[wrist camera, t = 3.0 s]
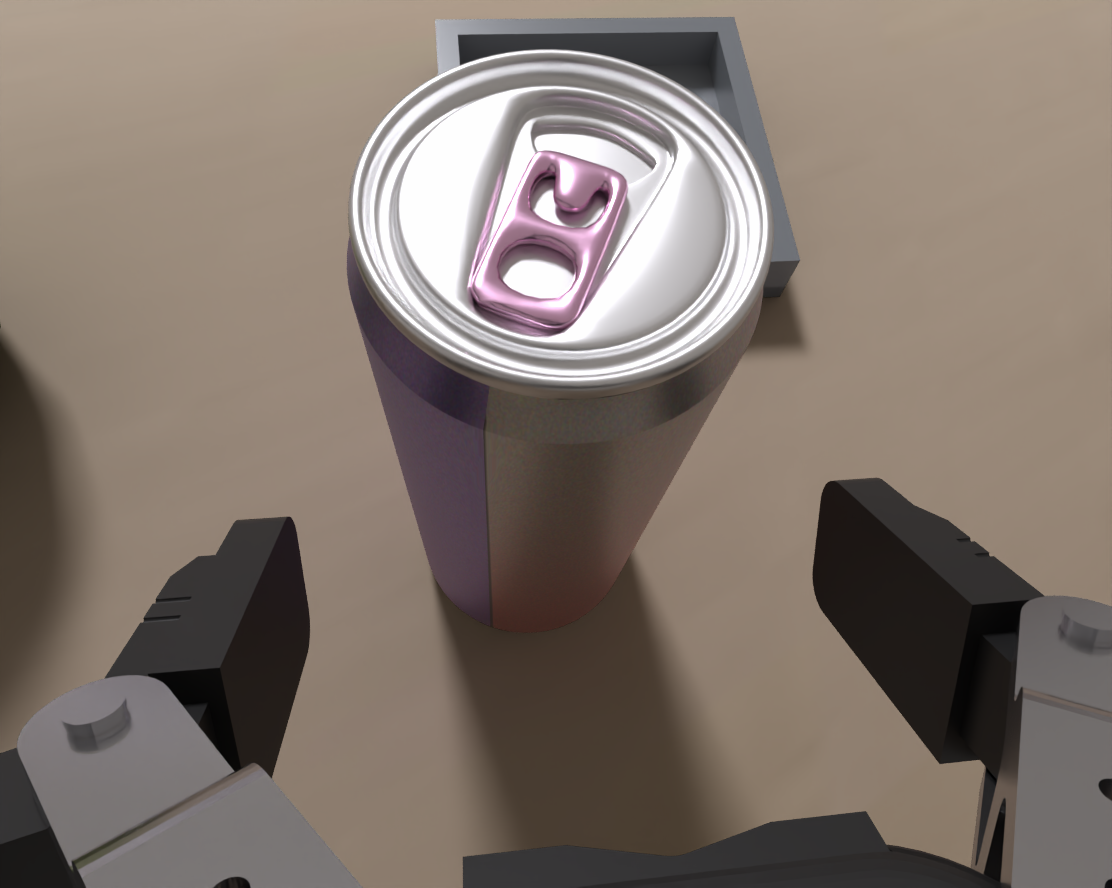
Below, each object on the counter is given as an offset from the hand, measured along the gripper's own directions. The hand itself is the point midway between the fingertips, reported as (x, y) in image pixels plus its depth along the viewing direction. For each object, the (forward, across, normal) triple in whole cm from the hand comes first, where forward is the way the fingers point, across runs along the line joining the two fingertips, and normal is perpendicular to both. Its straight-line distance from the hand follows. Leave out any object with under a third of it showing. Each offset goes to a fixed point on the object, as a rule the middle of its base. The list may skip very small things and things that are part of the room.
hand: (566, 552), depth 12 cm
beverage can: (+11, 0, +6) cm, 12 cm away
